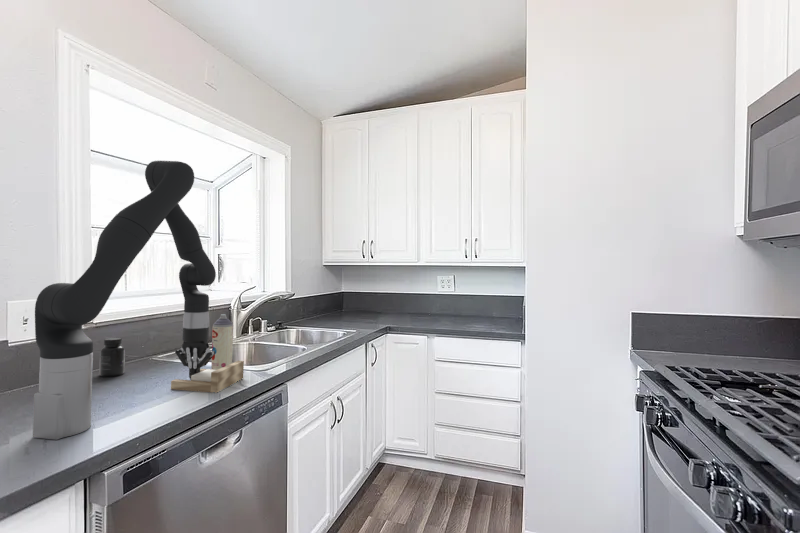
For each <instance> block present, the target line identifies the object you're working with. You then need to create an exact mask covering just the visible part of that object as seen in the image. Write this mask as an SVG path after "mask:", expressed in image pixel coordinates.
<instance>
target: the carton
mask: <svg viewBox="0 0 800 533" xmlns="http://www.w3.org/2000/svg"><path fill="white" fill-rule="evenodd" d="M205 369H206V370H204V371H202V372H199V373H197V374H194V375H192V376H191V380H193V381H206V382H211V372H213V371H216V370H212V369H210V368H205Z"/></svg>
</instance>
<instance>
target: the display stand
mask: <svg viewBox="0 0 800 533" xmlns="http://www.w3.org/2000/svg"><path fill="white" fill-rule="evenodd" d="M244 362H245V361H243V360H237V361H234V362H232V364H229V365H227V366H225V367H223V368H220V369H218V370H216V371H213V372H211V382H206V381H193V380H190V379H177V378H175V379H173V380H171V381H170V382H171V383H170V390H177V391H188V392H199V391H200V393H201V392H202V393H213V392H215V393H216V394H218V393H219V391H220V390H221V391H223V390H225V389H227V388H229V387H231V386H233V385H234V383H235V384H237V383H238V382H240V381H242V380H243V379H244V366H245V363H244ZM206 369H207V368H200V372H202V371H204V370H206ZM212 370H215V369H212ZM242 378H243V379H242ZM241 379H242V380H241ZM239 380H240V381H239ZM237 381H238V382H237ZM236 382H237V383H236ZM232 384H233V385H232ZM230 385H231V386H230ZM228 386H229V387H228ZM226 387H227V388H226ZM224 388H225V389H224ZM222 389H223V390H222ZM221 391H220V392H221ZM217 392H218V393H217ZM215 393H214V394H215Z"/></svg>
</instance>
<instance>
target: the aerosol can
mask: <svg viewBox="0 0 800 533" xmlns="http://www.w3.org/2000/svg"><path fill="white" fill-rule="evenodd" d="M211 334H212V339H211V340H212V341H211V351H215V354H214V356H213V357H212V358H211V369H215V370H218V369H220V368H223V367H225V366H227V365H229V364H232V363H233V346H234V343H233V342H234V323H233V322H232V321H231V320H230V319H229V318H228V317H227V314H226V313H225V314H224V313H223V314H222V313H221V314H220V317H219V318H218V319H216V321H215V322H213V323H212V333H211Z"/></svg>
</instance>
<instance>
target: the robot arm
mask: <svg viewBox="0 0 800 533" xmlns="http://www.w3.org/2000/svg"><path fill="white" fill-rule="evenodd" d="M144 175H145V176H144V177H145V180H146V184H147V186H148V188H149V190H150V193H149V194H147V195H145V196H143V197H142V198H140V199H139V200H137V201H135V202H133V203H131V204H130V205H128V206H126V207H124V208H123V209H121V210H120V211H119V212H118V213H116V214H115V216H114V217H113V218H112V219H111V220H110V222H108V223H107V225H106V226H105V228H104V229H102V231H101V233H100V234H99V236H98V241H97V245H96V252H95V256H94V259H93V261H92V263H91V264H90V265H89V267H88V268H87V269H86V270H85V271H84V273H82V275H81V276H80V277H79V278H78V279H77V280H76V281H75V282H74V283H68V282H66V283H65V282H57V283H52V284H50V285H47V286H46V287H45V288H43V289H42V290H41V291H40V292H39V294H38V296H37V298H36V300H35V305H34V332H35V333H34V334H35V342H36V345H37V347H38V348H39V375H38V376H39V377H38V381H39V382H38V391H37V392H36V393H34V394H33V415H32V417H33V418H32V419H33V420H32V438H36V439H37V438H38V439H47V440H48V439H49V440H55V441H56V440H60V439H62V438H66V437H70V436H76V435H78V434H80V433H83V432H86V431H87V430H89V429H90V428H91V426H92V397H93V396H92V391H93V365H94V364H93V363H94V362H93V361H94V341H93V340H92V339H91V338H90V337H88V335H87V334H86V333H85V332H84V330H83V325H86V324H88V323H90V322H92V321H93V320H95V319H96V318H97V317H98V315H99V314H100V313H101V312H102V310H103V308H104V307H105V306H106V303H107V302H108V300H109V299H110V297H111V295H112V293H113V292H114V290H115V288H116V286H117V285H118V283H119V281H120V280H121V278H122V276H124V274H125V273H126V271H127V270H128V268H129V267H130V266H131V264H132V263H133V262H134V260H135V259H136V258H137V256H138V255H139V253H141V251H142V250H143V249H144V247H145V246H146V245H147V243H148V242H149V241H150V239H151V238H152V236H153V235H154V233H155V232H156V230H158V228H159V227H160V226H161V224H162V223H163V221H164V220H165V222H166V223H167V225H168V227H169V230H170V233H171V235H172V238H173V242H174V245H175V247H176V251H177V253H178V257H179V258H180V259H181V260H183V261H186V262H189V263H184V264H183V265H182V266H181V267H180V270H179V273H178V280H179V283H180V288H181V290H182V295H183V300H184V308H183V310H184V311H183V316H182V318H183V319H182V339H181V340H182V341H183V342H182V345H181V347H180V348H179V349H176V350H175V351H174V353H175V354H176V356H177V358H178V359H179V360H180V362H181V364H182V365H183V366H184V367H187V368H188V377H189V380H191V376H192V375H194V374H197V373H199V372H200V369H202V368H203V367H206V366H207V364H208V363H209V362H211V360H212V357H213V356H214V354H215V351H212V349H211V348H210V345H209V338H210V337H209V336H210V334H209V333H210V315H209V310H210V309H209V308H210V297H209V295H208V293H204V292H202V291H199V288H198V286H203V287H204V286H205V287H206V286H208V287H209V286H211V285H212V284H213V283H214V282H215V280H216V277H217V274H216V269H215V266H214V264H213V263H212V261H211V260H210V258H209V257H208V255H207V253H206V252H205V250H204V248H203V244H202V241H201V237H200V233H199V231H198V229H197V228H196V226H195V224H194V223H193V221H192V220H191V219H190V218H189V216H187V215H186V213H185V212H184V210H183V209H182V207H181V205H180V202H181V201H182V200H183V199H184V198H185V197H186V196H187V195H188V193H190V191H191V189H192V187H193V185H194V182H195V172H194V169H193V168H192V166H191V165H190V164H188V163H186V162H182V161H179V160H152V161H150V162H149V163H148V164H147V165H146V168H145V171H144Z"/></svg>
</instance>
